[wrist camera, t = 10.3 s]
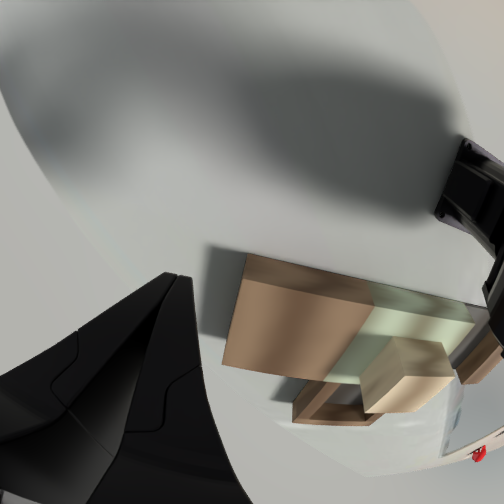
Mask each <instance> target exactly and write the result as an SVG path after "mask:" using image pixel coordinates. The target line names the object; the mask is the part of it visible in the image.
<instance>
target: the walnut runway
mask: <svg viewBox="0 0 504 504" xmlns="http://www.w3.org/2000/svg"><path fill="white" fill-rule="evenodd" d="M489 318H490V315H489V311H488V308H485V307H480V306H476V305H472V304H467V303H463V302H458V301H454V300H449V299H445V298H441V297H436V296H432V295H427V294H423V293H419V292H414V291H410V290H405V289H401V288H397V287H392V286H388V285H383V284H379V283H375V282H370V281H366V280H362V279H357V278H353V277H348V276H344V275H340V274H335V273H331V272H327V271H322V270H318V269H314V268H309V267H305V266H300V265H296V264H292V263H287V262H283V261H279V260H274V259H270V258H266V257H261V256H257V255H253V254H248V255H247V259H246V263H245V267H244V271H243V275H242V279H241V283H240V287H239V291H238V295H237V299H236V303H235V307H234V312H233V316H232V320H231V324H230V328H229V332H228V336H227V340H226V345H225V350H224V355H223V360H222V365H227V366H231V367H236V368H241V369H246V370H251V371H257V372H262V373H268V374H274V375H280V376H287V377H294V378H301V379H309V381H308V383H307V384H306V385H305V387H304V388H303V390H302V391H301V392H300V394H299V395H298V396H297V398H296V399H295V400H294V401H293V410H292V423H300V424H313V425H332V426H369V425H371V424H372V423H373V422H375V421H376V420H377V419H378V418H380V417H381V416H382V415H383V414H385V413H364V405H363V399H362V392H361V386H360V379H359V376H360V375H361V374H362V373H363V372H364V371H365V369H366V368H367V367H368V366H369V365H370V364H371V362H372V361H373V360H374V359H375V358H376V357H377V355H378V354H379V353H380V352H381V350H382V349H383V348H384V347H385V346H386V344H387V343H388V342H389V341H390V339H391V338H392V337H393V336H396V337H403V338H411V339H418V340H426V341H435V342H442V344H443V347H444V349H445V351H446V354H447V356H448V359H449V361H450V364H451V366H452V369H456V371H457V374H458V377H459V379H460V382H461V385H465V384H477V383H479V382H480V381H481V380H482V379H483V378H484V377H485V376H486V375H487V374H488V373H489V372H490V371H491V370H492V369H493V368H494V367H495V366H496V365H497V364H498V363H499V362H500V361H501V360H502V359H503V358H502V357H501V355H500V353H501V351H502V350H503V349H502V347H501V346H500V345H499V343H498V342H497V340H496V338H495V336H494V335H493V333H492V331H491V329H490V327H489V324H488V320H489Z"/></svg>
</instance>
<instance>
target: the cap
mask: <svg viewBox="0 0 504 504" xmlns="http://www.w3.org/2000/svg"><path fill="white" fill-rule="evenodd" d="M485 448H486V446H485V445H484V446H483V448H482V450H481V452H480V449H479V450H478V452H475V451H474V452H473V456H472V459H473V460H474V461H475V462H479V461H481V460H482V459H483V457H484V456H485V455H486V449H485Z"/></svg>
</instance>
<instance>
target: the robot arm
mask: <svg viewBox="0 0 504 504" xmlns="http://www.w3.org/2000/svg"><path fill="white" fill-rule="evenodd" d="M467 144H469V147H468V148H467ZM441 212H443V213H442V215H441V216H440V213H441ZM435 217H436V218H437V219H438V220H439V221H441V222H443V223H446V224H448V225H450V226H453V227H455V228H457V229H460V230H462V231H464V232H466V233H469V234H471V235H473V236H474V237H475V239H476V240H477V241H478V242H479V243H480V244H481V245H482V246H483V247H484V248H485V249H486V250H487V252H488V253H489V254H490V255H491V256H492V257H493V258H494V259H495V262H494V265H493V267H492V270H491V272H490V274H489V277H488V279H487V281H485V283H484V285H483V287H482V291H483V294H484V297H485V301H486V304H487V308H488V311H489V315H490V318H489V320H488V324H489V327H490V329H491V331H492V333H493V335H494V336H495V338H496V340H497V342H498V343H499V345H500V346H501V347H502V349H503V350H502V351H501V353H500V355H501V357H502V358H504V163H502V162H501V161H500V160H498V159H497V158H496V157H494V156H493V155H492V154H490V153H489V152H488V151H486V150H485V149H483V148H482V147H480V146H479V145H477V144H476V143H474V142H473V141H471V140H469V139H464V140H463V141H462V143H461V146H460V149H459V152H458V155H457V158H456V161H455V163H454V165H453V168H452V171H451V173H450V176H449V178H448V181H447V183H446V186H445V188H444V191H443V194H442V196H441V199H440V201H439V203H438V205H437V208H436V210H435ZM201 366H202V364H201V356H200V348H199V340H198V331H197V322H196V312H195V302H194V291H193V280H192V278H191V277H188V276H183V275H179V276H178V275H177V274H173V273H169V272H164V273H162V274H161V275H159V276H157V277H156V278H154V279H153V280H151V281H150V282H148V283H147V284H145V285H144V286H142V287H140V288H139V289H137V290H136V291H134V292H133V293H131V294H130V295H128V296H127V297H125V298H124V299H122V300H121V301H119V302H118V303H116V304H115V305H113V306H112V307H110V308H109V309H107V310H106V311H104V312H103V313H101V314H100V315H98V316H97V317H96V318H94V319H92V320H91V321H89V322H88V323H86V324H85V325H83V326H82V327H81V328H79V329H78V331H75V332H73V333H72V334H70V335H69V336H67V337H66V338H64V339H63V340H61V341H60V342H58V343H57V344H56V345H54V346H52V347H51V348H49V349H47V350H45V351H44V352H42V353H40V354H39V355H37V356H35V357H33V358H32V359H30V360H28V361H26V362H25V363H23V364H21V365H19V366H17V367H16V368H14V369H12V370H10V371H8V372H7V373H5V374H3V375H1V376H0V504H253V503H252V501H251V500H250V498H249V497H248V495H247V494H246V492H245V491H244V489H243V488H242V486H241V484H240V482H239V480H238V479H237V477H236V474H235V473H234V470H233V468H232V466H231V464H230V461H229V459H228V456H227V454H226V451H225V448H224V446H223V443H222V440H221V438H220V435H219V432H218V429H217V427H216V424H215V421H214V418H213V415H212V412H211V409H210V405H209V402H208V399H207V394H206V389H205V384H204V378H203V371H202V367H201Z"/></svg>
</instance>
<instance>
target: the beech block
mask: <svg viewBox="0 0 504 504" xmlns="http://www.w3.org/2000/svg"><path fill="white" fill-rule="evenodd" d="M454 378H455V374H454V372H453V369H452V366H451V364H450V361H449V359H448V356H447V354H446V351H445V349H444V347H443V344H442V342H435V341H426V340H418V339H411V338H403V337H396V336H393V337H392V338H391V339H390V341H389V342H388V343H387V344H386V346H385V347H384V348H383V349H382V350H381V352H380V353H379V354H378V355H377V357H376V358H375V359H374V360H373V361H372V362H371V364H370V365H369V366H368V367H367V368H366V369H365V371H364V372H363V373H362V374H361V375H360V376H359V379H360V386H361V392H362V399H363V405H364V413H404V412H415V411H417V410H418V409H419V408H420V407H422V406H423V405H424V404H425V403H427V402H428V401H429V400H430V399H431V398H432V397H434V396H435V395H436V394H437V393H438V392H439V391H441V390H442V389H443V388H444V387H445V386H446V385H447V384H448V383H449V382H450V381H451V380H452V379H454Z"/></svg>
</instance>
